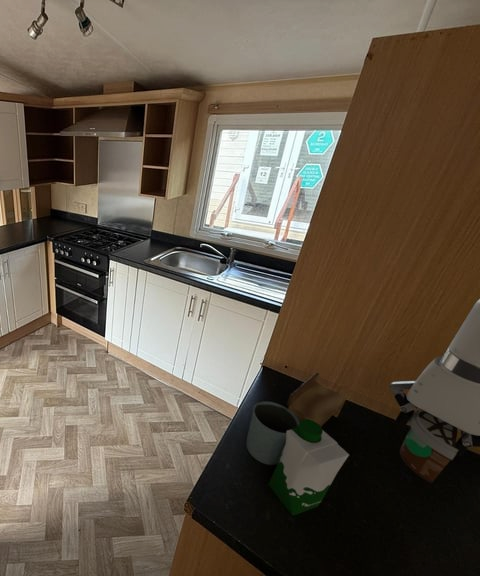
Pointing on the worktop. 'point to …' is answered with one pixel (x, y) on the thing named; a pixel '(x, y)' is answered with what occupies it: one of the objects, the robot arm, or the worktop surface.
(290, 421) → the grey cup
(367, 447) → the worktop surface
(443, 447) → the food container
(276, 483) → the milk carton
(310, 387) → the paper bag
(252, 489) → the worktop surface
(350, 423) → the worktop surface
